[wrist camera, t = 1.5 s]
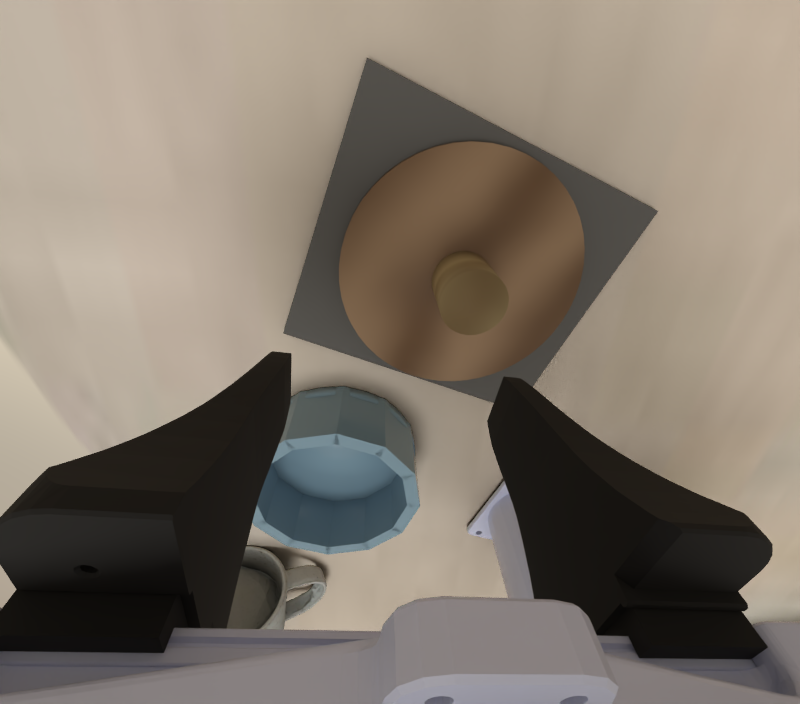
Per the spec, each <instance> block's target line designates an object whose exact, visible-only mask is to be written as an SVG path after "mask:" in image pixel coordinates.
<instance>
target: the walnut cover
mask: <svg viewBox="0 0 800 704" xmlns="http://www.w3.org/2000/svg"><path fill="white" fill-rule="evenodd" d="M584 253H585V246H584V233H583V229H582V224H581V220H580V216H579V214H578V211H577V209H576V206H575V203H574V201H573V200H572V198H571V196H570V194H569V193H568V191H567V189H566V188H565V186H564V185H563V184H562V183H561V182H560V180H559V179H558V178H557V177H556V176H555V174H553V173H552V172H551V171H550V170H549V169H548V168H547V167H545V166H544V165H543V164H542V163H540V162H539V161H537V160H536V159H534V158H532V157H531V156H529V155H528V154H525V153H523V152H520V151H518V150H516V149H513V148H511V147H507V146H503V145H499V144H495V143H487V142H475V141H466V142H452V143H448V144H443V145H438V146H434V147H432V148H429V149H426V150H424V151H421V152H418V153H416V154H414V155H412V156H411V157H409V158H407V159H405V160H403V161H401V162H400V163H399V164H397V165H396V166H394V167H393V168H392V169H390V170H389V171H388V172H386V173H385V174H384V175H383V176H382V177H381V178H380V179H379V180H378V181H377V182H376V183H375V184H374V185H373V186H372V187H371V189H370V190H369V191H368V192H367V194H366V195H365V196H364V197H363V199H362V200H361V202H360V204H359V205H358V207H357V209H356V210H355V212H354V214H353V216H352V218H351V221H350V223H349V226H348V228H347V230H346V233H345V237H344V241H343V244H342V248H341V254H340V262H339V285H340V291H341V297H342V301H343V304H344V308H345V311H346V313H347V316H348V318H349V320H350V322H351V325H352V326H353V328H354V329H355V331H356V333H357V334H358V336H359V337H360V338H361V340H362V341H363V342H364V343H365V344H366V346H367V347H368V348H369V349H370V350H371V351H372V352H374V353H375V354H376V355H377V356H378V357H379V358H381V359H382V360H384V361H385V362H386V363H388V364H389V365H391V366H393V367H395V368H397V369H398V370H400V371H403V372H405V373H408V374H410V375H413V376H417V377H421V378H424V379H430V380H437V381H462V380H470V379H476V378H480V377H484V376H487V375H491V374H494V373H496V372H499V371H501V370H504V369H506V368H508V367H510V366H512V365H514V364H516V363H517V362H519V361H521V360H522V359H524V358H525V357H527V356H528V355H530V354H531V353H532V352H533V351H535V350H536V349H537V348H538V347H539V346H541V345H542V344H543V343H544V342H545V341H546V340H547V339H548V338H549V337H550V336H551V334H552V333H553V332H554V331H555V330H556V328H557V327H558V326H559V324H560V323H561V322H562V320H563V319H564V317H565V315H566V314H567V312H568V310H569V309H570V307H571V305H572V302H573V300H574V298H575V296H576V293H577V290H578V287H579V284H580V281H581V277H582V271H583V266H584Z"/></svg>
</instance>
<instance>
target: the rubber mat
mask: <svg viewBox="0 0 800 704" xmlns="http://www.w3.org/2000/svg"><path fill="white" fill-rule="evenodd" d="M466 141H475V142H487V143H495V144H499V145H503V146H507V147H511V148H513V149H516V150H518V151H520V152H523V153H525V154H528V155H529V156H531V157H532V158H534V159H536V160H537V161H539V162H540V163H542V164H543V165H544V166H545V167H547V168H548V169H549V170H550V171H551V172H552V173H553V174H555V176H556V177H557V178H558V179H559V180H560V182H561V183H562V184H563V185H564V186H565V188H566V189H567V191H568V193H569V194H570V196H571V198H572V200H573V201H574V203H575V206H576V209H577V211H578V214H579V216H580V220H581V224H582V229H583V233H584V246H585V253H584V266H583V271H582V277H581V281H580V284H579V287H578V290H577V293H576V296H575V298H574V300H573V302H572V305H571V307H570V309H569V310H568V312H567V314H566V315H565V317H564V319H563V320H562V322H561V323H560V324H559V326H558V327H557V328H556V330H555V331H554V332H553V333H552V334H551V336H550V337H549V338H548V339H547V340H546V341H545V342H544V343H543V344H542V345H541V346H539V347H538V348H537V349H536V350H535V351H533V352H532V353H531V354H530V355H528V356H527V357H525V358H524V359H522V360H521V361H519V362H517V363H516V364H514V365H512V366H510V367H508V368H506V369H504V370H501V371H499V372H496V373H494V374H491V375H487V376H484V377H480V378H476V379H470V380H462V381H437V380H430V379H424V378H421V377H417V376H414V377H417V378H420V379H423V380H426V381H429V382H432V383H435V384H438V385H441V386H444V387H447V388H450V389H453V390H456V391H459V392H462V393H465V394H468V395H471V396H474V397H477V398H480V399H483V400H487V401H490V402H493V403H494V402H495V399H496V396H497V393H498V390H499V388H500V385H501V382H502V379H503V377H504V376H505V377H515V378H521V379H522V380H524V381H525V382H527V383H528V384H529V385H530V386H533V385H534V384H535V382H536V381H537V379H538V378H539V377H540V375H541V374H542V373H543V371H544V370H545V368H546V367H547V366H548V364H549V363H550V361H551V360H552V359H553V357H554V356H555V354H556V353H557V352H558V350H559V349H560V347H561V346H562V345H563V343H564V342H565V340H566V339H567V338H568V336H569V335H570V333H571V332H572V331H573V329H574V328H575V326H576V325H577V324H578V322H579V321H580V319H581V318H582V317H583V315H584V314H585V312H586V311H587V310H588V308H589V307H590V305H591V304H592V303H593V301H594V300H595V298H596V297H597V296H598V294H599V293H600V292H601V290H602V289H603V287H604V286H605V285H606V283H607V282H608V280H609V279H610V278H611V276H612V275H613V273H614V272H615V271H616V269H617V268H618V266H619V265H620V264H621V262H622V261H623V259H624V258H625V257H626V255H627V254H628V252H629V251H630V250H631V248H632V247H633V245H634V244H635V243H636V241H637V240H638V238H639V237H640V236H641V234H642V233H643V231H644V230H645V229H646V227H647V226H648V224H649V223H650V222H651V220H652V219H653V218H654V216H655V215H656V213H657V212H658V211H657V210H655V209H653V208H651V207H649V206H648V205H646V204H644V203H642V202H640V201H638V200H636V199H634V198H632V197H630V196H629V195H627V194H625V193H623V192H621V191H619V190H617V189H615V188H613V187H611V186H610V185H608V184H606V183H604V182H602V181H600V180H598V179H596V178H594V177H592V176H591V175H589V174H587V173H585V172H583V171H581V170H579V169H577V168H575V167H573V166H572V165H570V164H568V163H566V162H564V161H562V160H560V159H558V158H556V157H554V156H553V155H551V154H549V153H547V152H545V151H543V150H541V149H539V148H537V147H535V146H534V145H532V144H530V143H528V142H526V141H524V140H522V139H520V138H518V137H516V136H515V135H513V134H511V133H509V132H507V131H505V130H503V129H501V128H499V127H497V126H496V125H494V124H492V123H490V122H488V121H486V120H484V119H482V118H480V117H478V116H477V115H475V114H473V113H471V112H469V111H467V110H465V109H463V108H461V107H459V106H458V105H456V104H454V103H452V102H450V101H448V100H446V99H444V98H442V97H440V96H439V95H437V94H435V93H433V92H431V91H429V90H427V89H425V88H423V87H422V86H420V85H418V84H416V83H414V82H412V81H410V80H408V79H406V78H404V77H403V76H401V75H399V74H397V73H395V72H393V71H391V70H389V69H387V68H385V67H384V66H382V65H380V64H378V63H376V62H374V61H372V60H370V59H368V58H367V60H366V63H365V66H364V70H363V73H362V76H361V79H360V83H359V86H358V89H357V93H356V96H355V99H354V102H353V106H352V109H351V112H350V116H349V119H348V122H347V125H346V129H345V132H344V135H343V139H342V142H341V145H340V148H339V152H338V155H337V158H336V162H335V165H334V168H333V171H332V175H331V178H330V181H329V185H328V188H327V191H326V194H325V198H324V201H323V204H322V208H321V211H320V214H319V217H318V221H317V224H316V227H315V231H314V234H313V237H312V240H311V244H310V247H309V250H308V254H307V257H306V260H305V263H304V267H303V270H302V273H301V277H300V280H299V283H298V286H297V290H296V293H295V296H294V300H293V303H292V306H291V310H290V313H289V316H288V319H287V323H286V326H285V329H284V334H287V335H290V336H293V337H296V338H299V339H302V340H305V341H308V342H311V343H314V344H317V345H320V346H323V347H326V348H329V349H332V350H336V351H339V352H342V353H345V354H348V355H351V356H354V357H357V358H360V359H363V360H366V361H369V362H372V363H375V364H378V365H381V366H384V367H387V368H390V369H393V370H396V371H399V372H402V373H405V372H403V371H400V370H398V369H397V368H395V367H393V366H391V365H389V364H388V363H386V362H385V361H384V360H382V359H381V358H379V357H378V356H377V355H376V354H375V353H374V352H372V351H371V350H370V349H369V348H368V347H367V346H366V344H365V343H364V342H363V341H362V340H361V338H360V337H359V336H358V334H357V333H356V331H355V329H354V328H353V326H352V325H351V322H350V320H349V318H348V316H347V313H346V311H345V308H344V304H343V301H342V297H341V291H340V285H339V262H340V254H341V248H342V244H343V241H344V237H345V233H346V230H347V228H348V226H349V223H350V221H351V218H352V216H353V214H354V212H355V210H356V209H357V207H358V205H359V204H360V202H361V200H362V199H363V197H364V196H365V195H366V194H367V192H368V191H369V190H370V189H371V187H372V186H373V185H374V184H375V183H376V182H377V181H378V180H379V179H380V178H381V177H382V176H383V175H384V174H385V173H386V172H388V171H389V170H390V169H392V168H393V167H394V166H396V165H397V164H399V163H400V162H401V161H403V160H405V159H407V158H409V157H411V156H412V155H414V154H416V153H418V152H421V151H424V150H426V149H429V148H432V147H434V146H438V145H443V144H448V143H452V142H466ZM405 374H408V373H405ZM408 375H410V374H408ZM411 376H413V375H411Z"/></svg>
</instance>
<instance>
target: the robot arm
mask: <svg viewBox="0 0 800 704" xmlns="http://www.w3.org/2000/svg"><path fill="white" fill-rule="evenodd" d="M290 403H291V353H282V352H273V351H272V352H271V353H269V354H268V355H267V356H266V357H264V358H263V359H262V360H261V361H260V362H259V363H257V364H256V365H255V366H254V367H253V368H252V369H250V370H249V371H248V372H247V373H246V374H244V375H243V376H242V377H240V378H239V379H238V380H237V381H235V382H234V383H233V384H232V385H230V386H229V387H228V388H226V389H225V390H223V391H222V392H220V393H219V394H218V395H216V396H215V397H213V398H212V399H210V400H209V401H207V402H206V403H204V404H203V405H201V406H199V407H197V408H196V409H194V410H192V411H190V412H189V413H187V414H185V415H183V416H181V417H180V418H178V419H176V420H173V421H171V422H169V423H167V424H165V425H163V426H161V427H159V428H157V429H155V430H153V431H151V432H148V433H146V434H144V435H141V436H139V437H137V438H134V439H132V440H129V441H127V442H124V443H121V444H119V445H116V446H114V447H111V448H108V449H105V450H103V451H100V452H97V453H94V454H91V455H87V456H84V457H81V458H79V459H75V460H72V461H69V462H66V463H62V464H59V465H56V466H52V467H49V468H48V469H47V470H46V471H44V473H42V474H41V475H40V476H39V477H38V478H37V479H36V480H35V481H34V482H33V483H32V484H31V485H30V486H29V487H28V488H27V489H26V491H25V492H24V493H23V494H22V495H21V496H20V497H19V498H18V499H17V500H16V501H15V502H14V503H13V504H12V506H10V507H9V509H8V510H7V511H6V512H5V513H4V514H3V515H2V516H1V517H0V565H1V566H2V568H3V569H4V571H5V572H6V574H7V575H8V577H9V578H10V580H11V581H12V583H13V584H14V586H15V587H16V589H17V590H16V591H15V592H14V594H13V595H12V596H11V598H10V599H9V600H8V602H7V603H6V604H5V605H4V607H3V608H0V704H800V622H779V621H766V622H759V623H756V624H753V625H751V623H750V622H749V621H748V619H747V618H746V617H745V615H744V614H743V613H742V611H745V610H747V609H748V605H747V603H746V601H745V600H744V599H743V598H742V596H741V595H740V594H739V592H738V591H739V590H740V589H741V588H742V587H743V586H744V585H746V584H747V583H748V582H749V581H750V580H751V579H752V578H753V577H755V576H756V575H757V574H758V573H759V572H760V571H761V570H762V569H763V568H764V567H765V566H766V565H767V564H768V562H769V560H770V558H771V556H772V543H771V542H770V541H769V539H768V538H767V537H766V536H765V535H764V534H763V533H762V531H761V530H760V529H759V528H758V527H757V526H756V525H755V524H754V523H753V522H752V521H751V520H750V519H749V518H748V516H746V515H745V514H744V513H742V512H740V511H737V510H735V509H732V508H730V507H728V506H725V505H723V504H720V503H718V502H715V501H713V500H711V499H708V498H706V497H703V496H701V495H699V494H696V493H694V492H692V491H690V490H688V489H686V488H684V487H682V486H679V485H677V484H675V483H673V482H671V481H669V480H667V479H665V478H663V477H661V476H659V475H657V474H655V473H653V472H652V471H650V470H648V469H646V468H644V467H643V466H641V465H639V464H637V463H635V462H634V461H632V460H630V459H629V458H627V457H625V456H624V455H622V454H620V453H619V452H617V451H616V450H614V449H613V448H611V447H609V446H608V445H606V444H605V443H603V442H602V441H600V440H599V439H597V438H596V437H595V436H593V435H592V434H590V433H589V432H588V431H586V430H585V429H584V428H582V427H581V426H580V425H578V424H577V423H576V422H574V421H573V420H572V419H571V418H569V417H568V416H567V415H566V414H564V413H563V412H562V411H561V410H559V409H558V408H557V407H556V406H555V405H553V404H552V403H551V402H550V401H549V400H547V399H546V398H545V397H544V396H543V395H541V394H540V393H539V392H538V391H537V390H535V389H534V388H533V387H532V386H530V385H529V384H528V383H527V382H525V381H524V380H522V379H521V378H515V377H505V376H504V377H503V379H502V382H501V385H500V388H499V390H498V393H497V396H496V399H495V402H494V404H493V407H492V410H491V413H490V415H489V418H488V421H487V422H488V428H489V433H490V438H491V443H492V447H493V450H494V453H495V456H496V459H497V462H498V465H499V468H500V470H501V473H502V476H503V479H504V481H503V483H502V484H501V485H500V486H499V488H498V489H497V490H496V491H495V493H494V494H493V495H492V497H491V498H490V499H489V500H488V502H487V503H486V504H485V505H484V507H483V508H482V509H481V511H480V512H479V513H478V514H477V516H476V517H475V518H474V519H473V521H472V522H471V523H470V524H469V526H468V527H467V530H468V533H469V534H471V535H474V536H479V537H483V538H487V539H491V540H493V544H494V547H495V551H496V555H497V558H498V562H499V566H500V570H501V573H502V577H503V581H504V584H505V588H506V592H507V595H508V598H485V597H452V596H440V597H431V598H422V599H417V600H414V601H412V602H410V603H407V604H405V605H402V606H400V607H398V608H397V609H396V610H395V611H394V612H393V613H392V615H391V616H390V617H389V618H388V619H387V621H386V622H385V623H384V624H383V627H382V630H381V631H328V630H275V629H227V625H228V620H229V616H230V611H231V607H232V602H233V598H234V594H235V590H236V586H237V581H238V577H239V573H240V569H241V565H242V561H243V557H244V553H245V549H246V545H247V541H248V537H249V533H250V529H251V525H252V521H253V518H254V514H255V510H256V506H257V503H258V499H259V496H260V493H261V490H262V487H263V485H264V482H265V479H266V477H267V474H268V472H269V469H270V466H271V464H272V461H273V458H274V456H275V453H276V451H277V448H278V445H279V443H280V440H281V437H282V435H283V432H284V429H285V425H286V421H287V416H288V412H289V408H290Z"/></svg>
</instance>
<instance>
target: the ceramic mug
mask: <svg viewBox="0 0 800 704" xmlns="http://www.w3.org/2000/svg"><path fill="white" fill-rule="evenodd" d="M305 584H313V586H312V588H311V589H309V590H308V591H307V592H305V593H303V594H301V595H299V596H298V597H296V598H294V599H291V600H289V601H287V602H286V598H287V591H288V590H290V589H292V588H294V587H299V586H303V585H305ZM326 586H327V585H326V580H325V578H324V574H323V571H322V570H321V568H319V567H317V566H314V565H305V566H300V567H296V568H292V569H289V570H285V569H284V566H283V564H282V563H281V561H280V560H279V559H278V557H277V556H275V555H274V554H273V553H272V552H270V551H268V550H266V549H263V548H260V547H256V546H246V549H245V553H244V557H243V561H242V565H241V569H240V573H239V577H238V581H237V586H236V590H235V594H234V598H233V602H232V607H231V611H230V616H229V620H228V625H227V629H275V630H283V629H284V623H285V621H287V620H289V619H291V618H293V617H295V616H297V615H300V614H302V613H304V612H305V611H307V610H308V609H310V608H312V607H313V606H314V605H315V604H316V603H317V602H318V601H319V600H320V599H321V598H322V597H323V595H324V593H325V591H326Z"/></svg>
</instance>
